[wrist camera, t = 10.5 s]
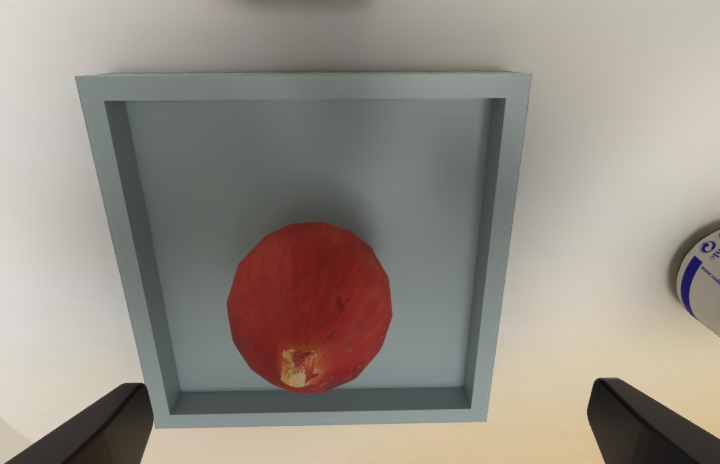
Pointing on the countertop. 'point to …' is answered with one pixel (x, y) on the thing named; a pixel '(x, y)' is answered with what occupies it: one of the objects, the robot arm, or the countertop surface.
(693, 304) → the beverage can
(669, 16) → the countertop surface
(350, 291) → the onion
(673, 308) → the countertop surface
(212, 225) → the tray
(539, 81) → the countertop surface
